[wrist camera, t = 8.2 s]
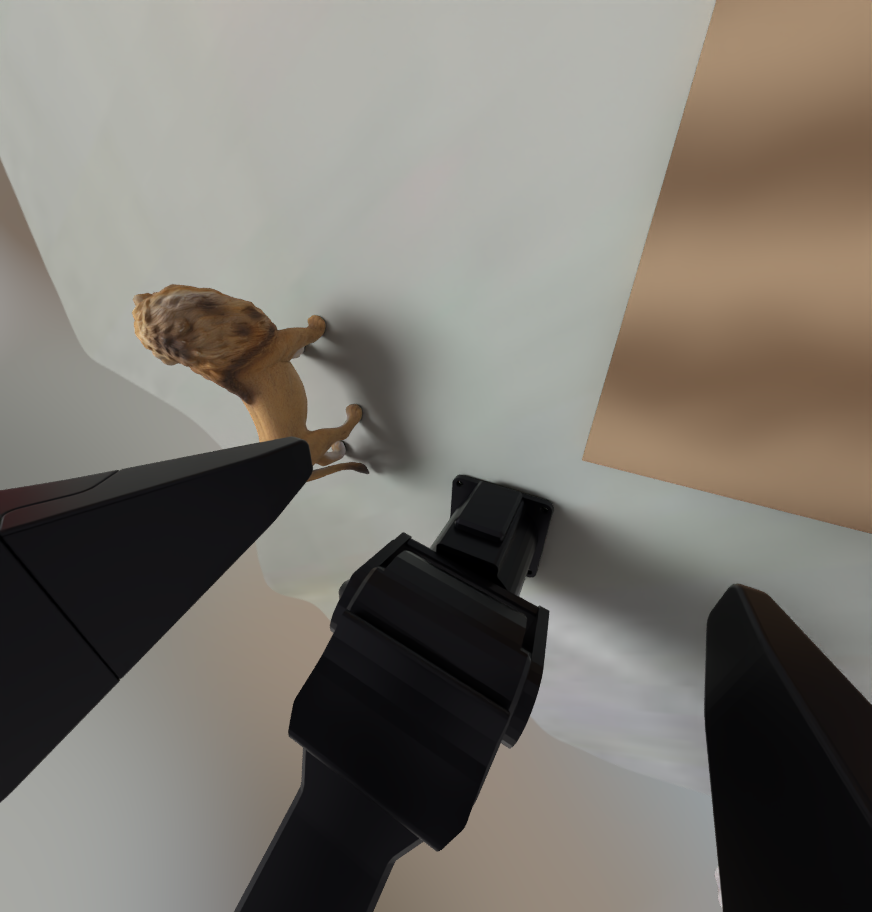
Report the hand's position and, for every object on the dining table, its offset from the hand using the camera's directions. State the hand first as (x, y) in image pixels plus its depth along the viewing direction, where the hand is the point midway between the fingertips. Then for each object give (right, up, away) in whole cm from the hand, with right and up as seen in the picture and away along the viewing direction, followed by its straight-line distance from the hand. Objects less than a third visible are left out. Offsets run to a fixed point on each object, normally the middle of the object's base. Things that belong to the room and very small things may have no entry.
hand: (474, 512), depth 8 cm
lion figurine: (-9, +7, +18) cm, 21 cm away
